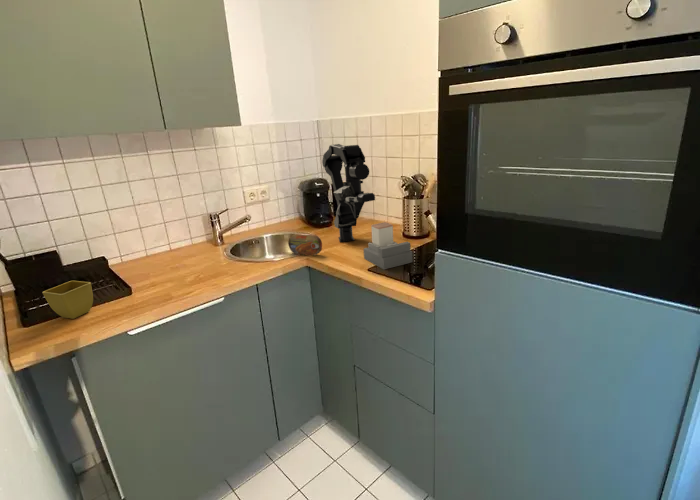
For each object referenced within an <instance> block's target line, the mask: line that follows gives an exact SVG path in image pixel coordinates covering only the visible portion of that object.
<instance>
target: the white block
mask: <svg viewBox="0 0 700 500" xmlns="http://www.w3.org/2000/svg"><path fill="white" fill-rule="evenodd" d="M370 227H371V228H370V229H371V243H373V244H375V245H377V246H379V247H380V248H382V247H386V246H387V245H390V244H393V241H394V226H393V224H392V223H390V222H385V221H384V222H379V223H373V224H371V225H370Z"/></svg>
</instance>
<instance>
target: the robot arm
mask: <svg viewBox="0 0 700 500" xmlns="http://www.w3.org/2000/svg"><path fill="white" fill-rule="evenodd" d="M321 163H322V167H323V168H324V170H325V171H324V172H326V174H327V175H328V176H330V180H331V184H332V188H333V195H334V197H335V200H336V204H337V209H336V212H335V214H336V215H335V218H334V221H333V222H334V227H335V228H336V229H338V230H339V237H338V241H339V242H340V243H344V242H345V243H346V242H353V241H355V238H354V236H353V227H356V226H357V220H358V219H359V217H360V214H361V211H362V209H363V206H364V205H365V203H367V202H372V201H373V202H374V201H376V195H375V193H373V192H365V191H363V190H362V184H363V183H364V180H366V179H367V178H368V177H369V175H370V169H369V166H368V165H367V164H365V163H366V156H365V154H364V152H363V151H362V148H361V147H360V145H359V144H352V145H351V144H350V145H342V144H340V143H336V144H330V145H329V147H328V149H327V150H326V151H325V152H324V154H323V156H322V162H321ZM343 167H344V174H345V175H344V176H345V181H343V180H344V179H343V176H342V173H341V171H342V168H343Z"/></svg>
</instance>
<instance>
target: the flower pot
mask: <svg viewBox="0 0 700 500" xmlns="http://www.w3.org/2000/svg"><path fill="white" fill-rule="evenodd" d="M42 295H43V297H44V298H45V300H46V302H47V303H48V305H49V306H50V308H51V310H52V311H54V312H55V314H57V315H58V316H60V317H61V318H65V319H76V318H78V317H80V316H82V315H85V314H86V313H89V312H90V311H91V309H92V307H93V303H94V294H93V288H92V282H90V281H79V280H70V281H67V282H64V283H62V284H59V285H57V286H54V287H51V288H48V289H46V290H44V291H42Z"/></svg>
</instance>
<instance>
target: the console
mask: <svg viewBox="0 0 700 500" xmlns="http://www.w3.org/2000/svg"><path fill="white" fill-rule="evenodd" d="M367 245H368V247H364V248H363V259H364V260H365V261H367V262H370V263H371V264H373V265H375V266H377V267H378V268H380V269H382V270H388V269H391V268H394V267H395V268H396V267H399V266H403V265H406V264H407V265H408V264H410V263H413V251H412V249H411V242H409V241H403V242H401V243H400V242H399V243H398V242H397V241H394V240H393V244H390V245H387V246H386V247H382V248H380V247H379V246H377V245H375V244H373V243H372V242H368V243H367Z"/></svg>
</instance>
